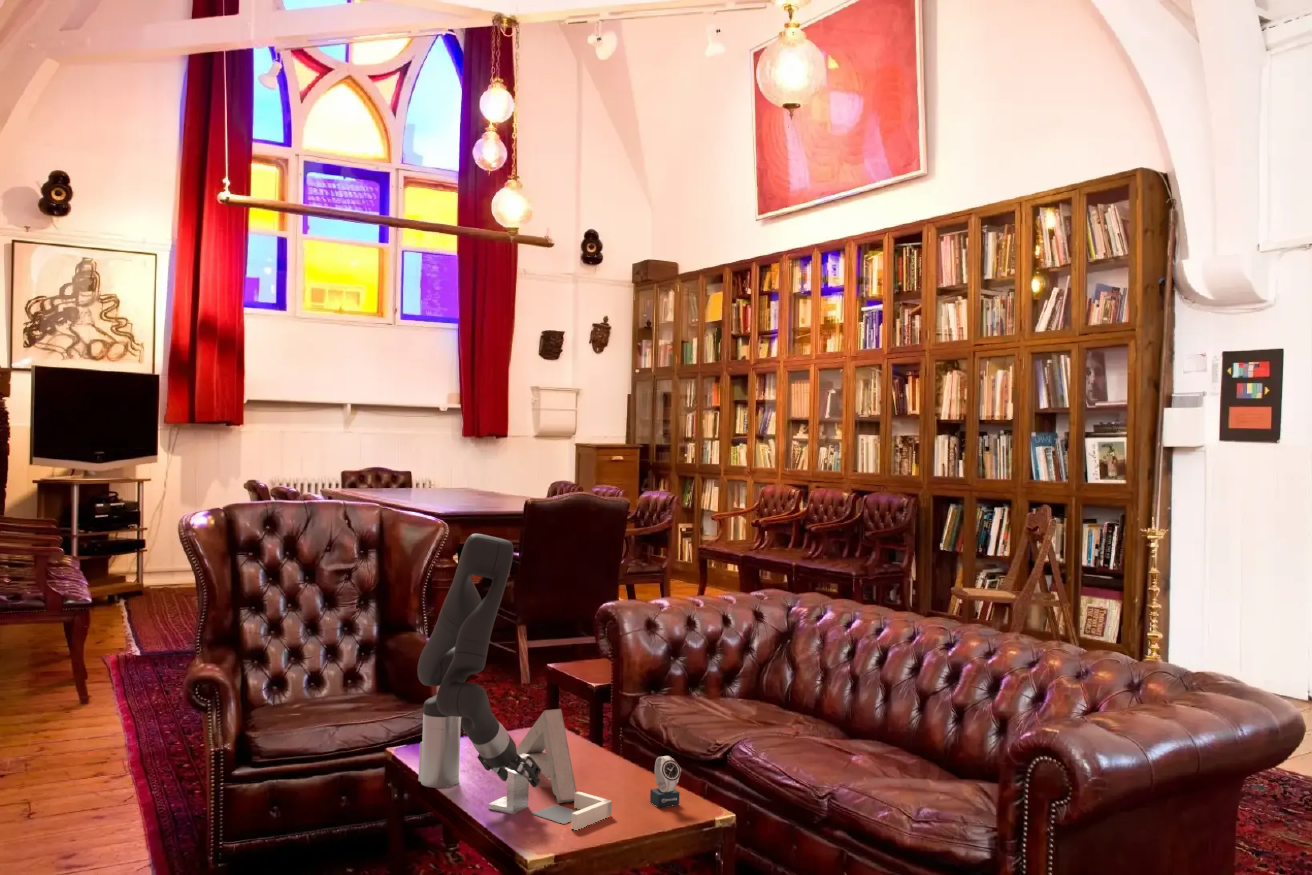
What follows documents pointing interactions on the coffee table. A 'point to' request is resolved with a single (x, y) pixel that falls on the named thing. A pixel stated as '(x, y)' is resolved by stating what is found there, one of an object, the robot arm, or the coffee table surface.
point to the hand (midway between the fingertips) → (521, 780)
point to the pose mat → (556, 814)
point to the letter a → (551, 753)
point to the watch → (665, 782)
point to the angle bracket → (513, 793)
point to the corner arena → (589, 810)
